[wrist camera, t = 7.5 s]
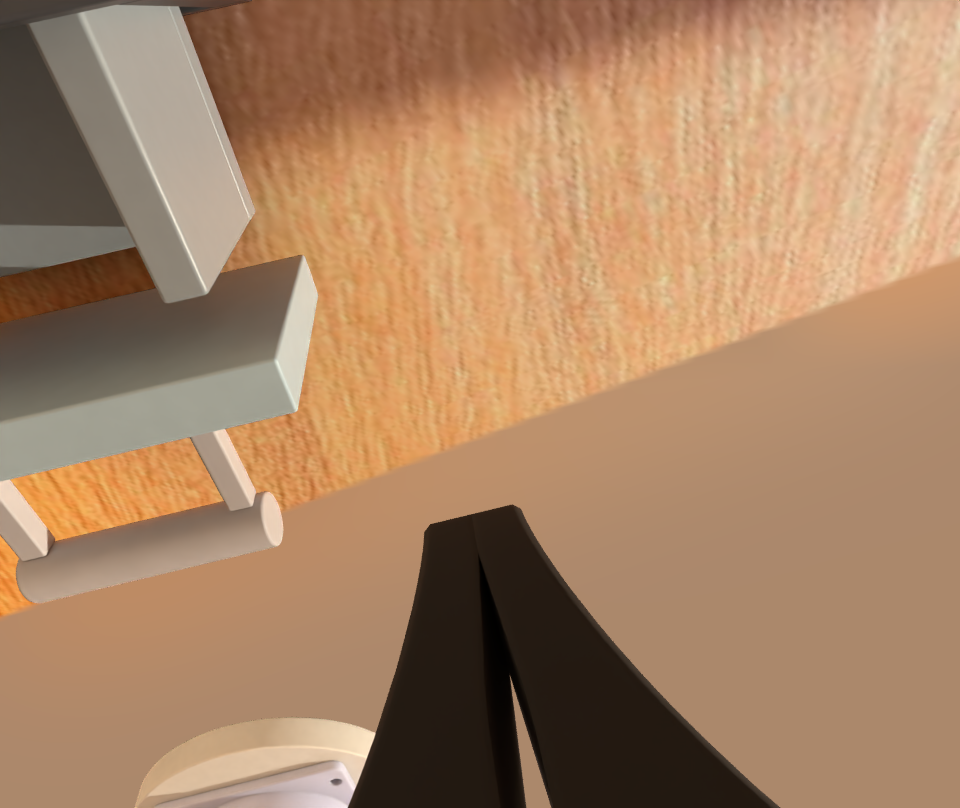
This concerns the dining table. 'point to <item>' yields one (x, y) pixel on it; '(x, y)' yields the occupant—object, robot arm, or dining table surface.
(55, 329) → the tray
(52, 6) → the box
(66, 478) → the dining table surface
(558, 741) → the robot arm
